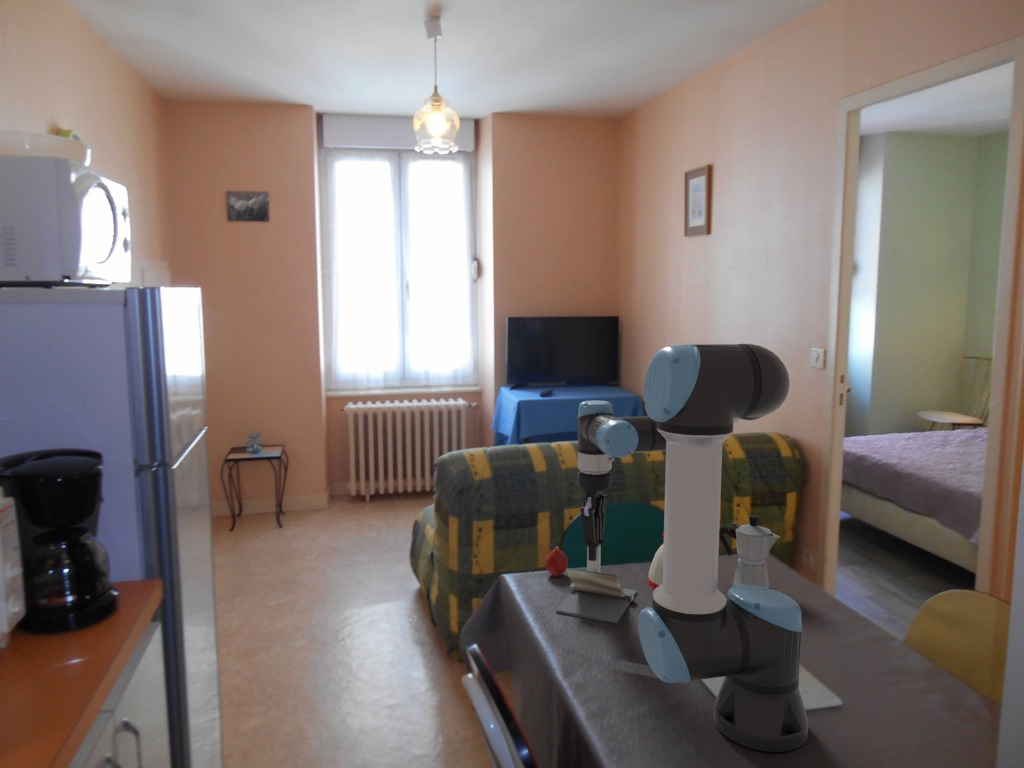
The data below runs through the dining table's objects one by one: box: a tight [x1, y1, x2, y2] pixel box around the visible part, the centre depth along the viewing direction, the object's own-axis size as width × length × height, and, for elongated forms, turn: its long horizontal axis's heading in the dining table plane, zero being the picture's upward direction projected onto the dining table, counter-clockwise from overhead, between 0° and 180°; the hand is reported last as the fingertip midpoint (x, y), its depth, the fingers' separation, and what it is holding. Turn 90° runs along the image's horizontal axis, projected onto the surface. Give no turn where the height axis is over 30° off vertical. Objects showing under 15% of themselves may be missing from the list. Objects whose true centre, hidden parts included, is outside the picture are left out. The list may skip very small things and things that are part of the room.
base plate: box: [555, 587, 637, 624], centre depth 166 cm, size 18×14×1 cm
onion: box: [544, 546, 569, 578], centre depth 181 cm, size 6×6×8 cm
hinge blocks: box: [568, 582, 635, 603], centre depth 169 cm, size 2×15×1 cm, turn 67°
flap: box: [565, 567, 626, 599], centre depth 164 cm, size 13×12×1 cm
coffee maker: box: [719, 514, 781, 589], centre depth 175 cm, size 15×9×18 cm, turn 58°
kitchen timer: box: [647, 532, 664, 590], centre depth 176 cm, size 14×14×15 cm
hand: (593, 572), depth 162 cm, fingers closed
